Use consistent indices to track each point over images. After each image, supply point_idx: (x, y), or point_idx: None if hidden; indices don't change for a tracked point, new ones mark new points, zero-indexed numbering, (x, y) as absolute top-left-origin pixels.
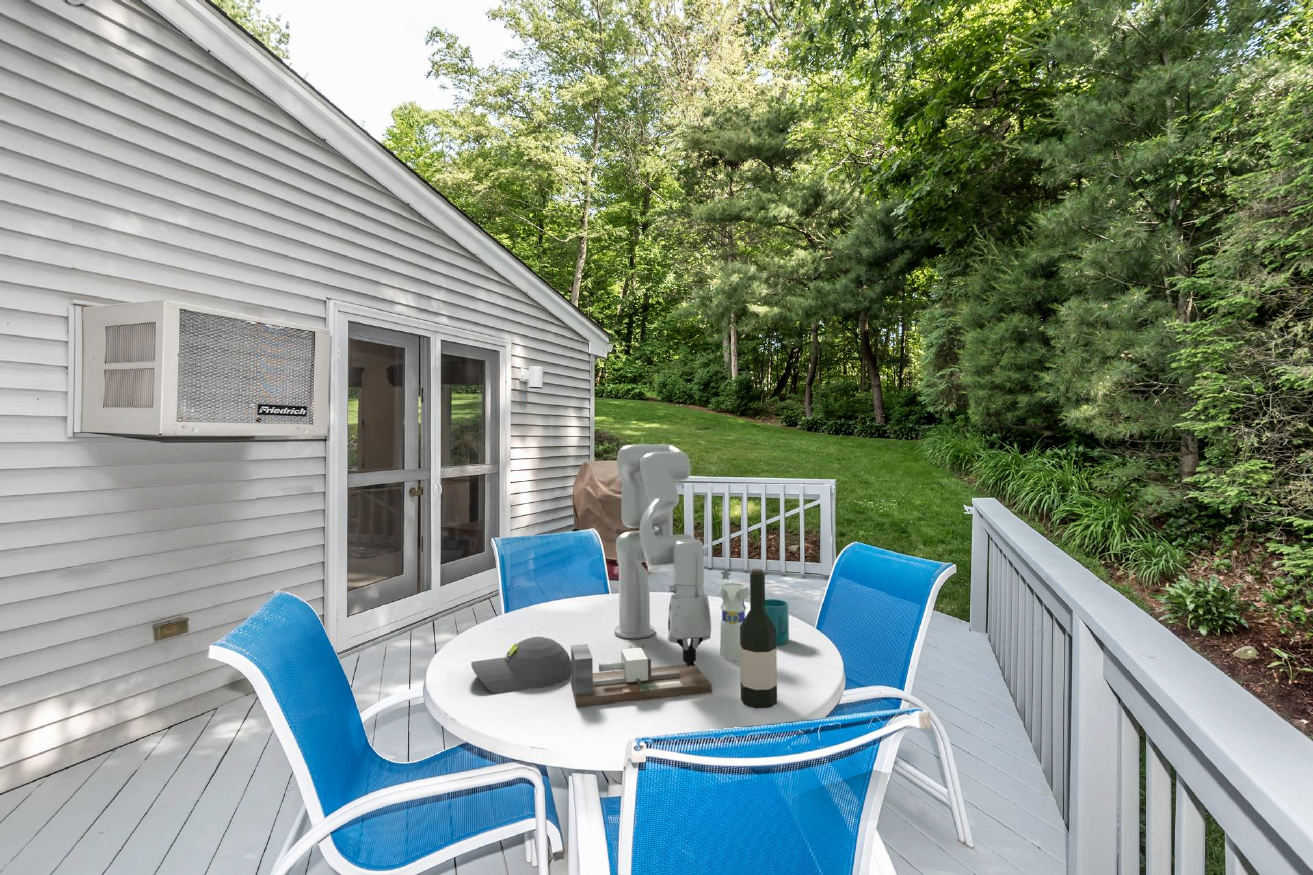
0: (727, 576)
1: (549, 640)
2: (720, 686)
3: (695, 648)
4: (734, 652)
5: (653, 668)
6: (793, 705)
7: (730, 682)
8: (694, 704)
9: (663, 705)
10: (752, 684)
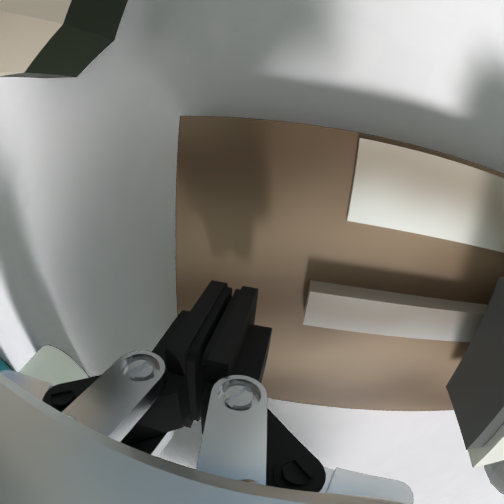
0: None
1: None
2: (137, 176)
3: (147, 360)
4: (51, 368)
5: (372, 401)
6: None
7: (93, 203)
8: (333, 25)
9: (470, 86)
10: None
